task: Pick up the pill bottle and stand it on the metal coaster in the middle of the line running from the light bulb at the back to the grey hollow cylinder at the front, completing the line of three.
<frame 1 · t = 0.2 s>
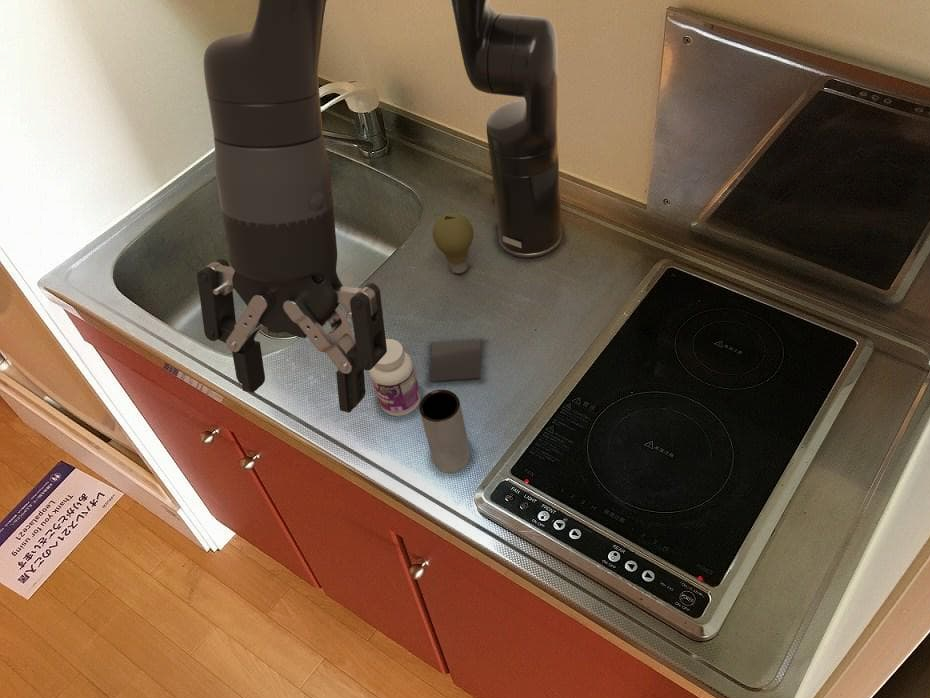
hand: (301, 396, 65), 31 cm above the worktop, tool tilted 20°, fingers open, 8 cm apart
grey hollow cylinder: (452, 458, 98), on the worktop
metal coaster: (455, 362, 107), on the worktop
light bulb: (459, 272, 118), on the worktop
pill bottle: (400, 401, 104), on the worktop
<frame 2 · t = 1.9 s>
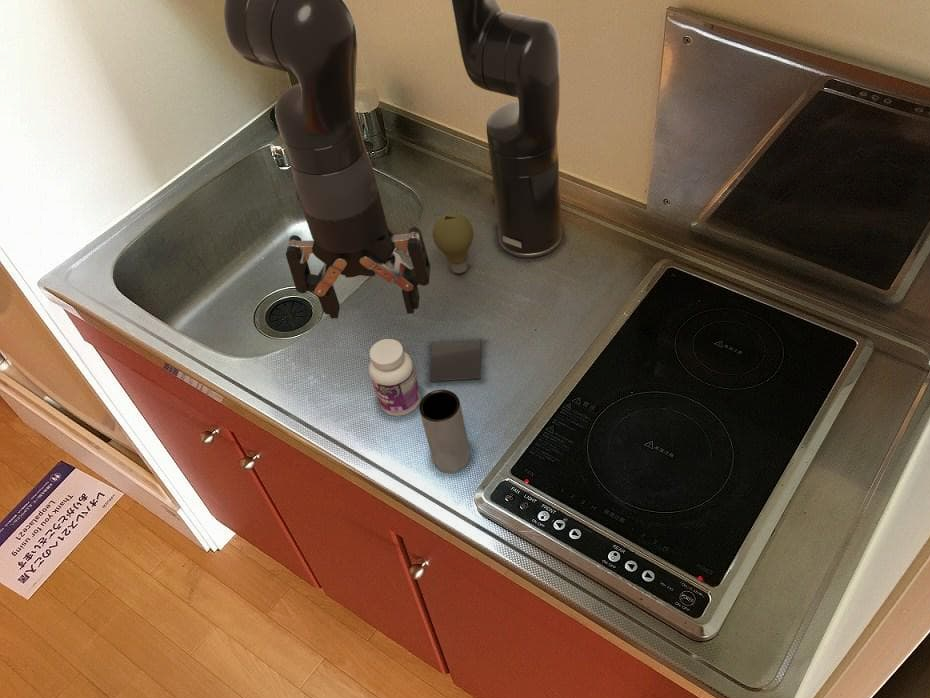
hand: (373, 310, 91), 16 cm above the worktop, tool pointing down, fingers open, 8 cm apart
nothing on the worktop moved.
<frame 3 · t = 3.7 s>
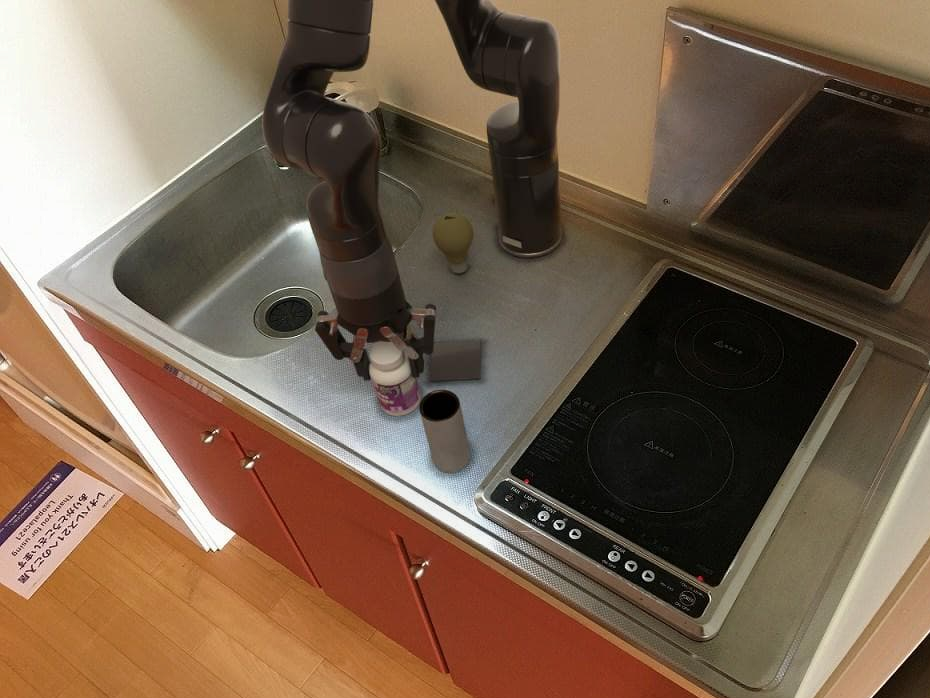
hand: (392, 373, 100), 5 cm above the worktop, tool pointing down, fingers closed on pill bottle, 5 cm apart
pill bottle: (400, 401, 104), on the worktop, touching gripper
everything else where it was.
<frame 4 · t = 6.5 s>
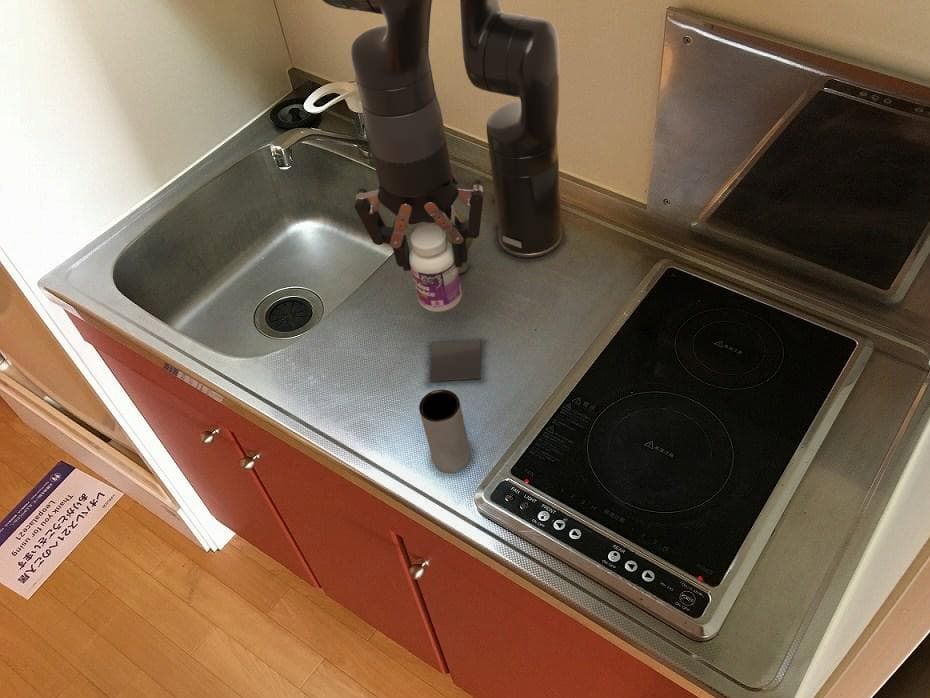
hand: (433, 263, 94), 17 cm above the worktop, tool pointing down, fingers closed on pill bottle, 5 cm apart
pill bottle: (440, 298, 98), point 12 cm above the worktop, touching gripper
everything else where it was.
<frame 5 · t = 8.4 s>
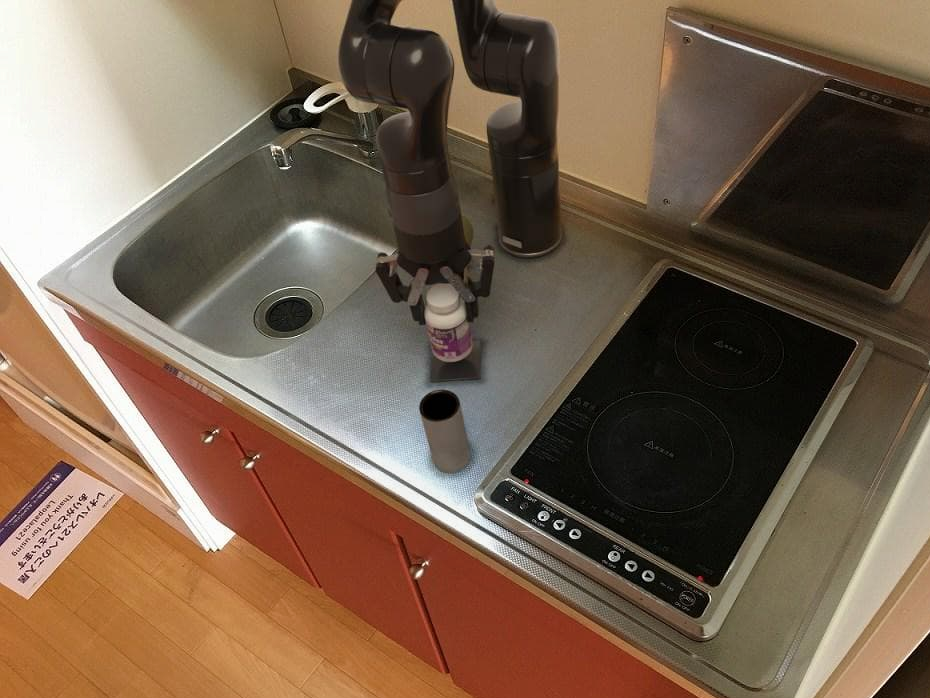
hand: (446, 318, 101), 8 cm above the worktop, tool pointing down, fingers closed on pill bottle, 5 cm apart
pill bottle: (453, 349, 105), point 3 cm above the worktop, touching gripper
everything else where it was.
when the fingers open (6 cm above the worktop, at t = 9.6 s): pill bottle stays where it is, resting on metal coaster.
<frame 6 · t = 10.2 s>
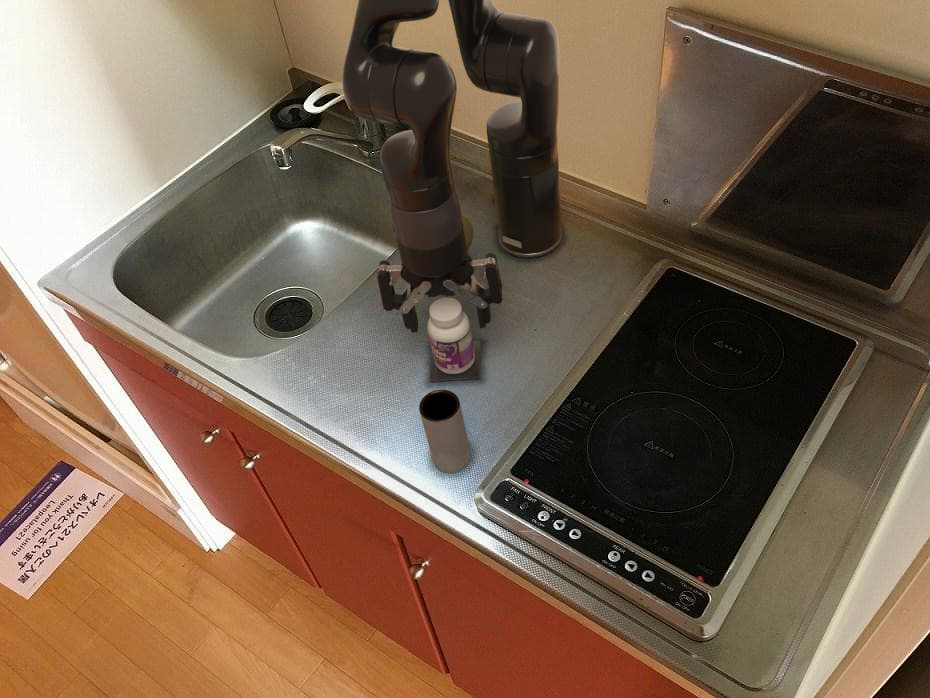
hand: (448, 325, 102), 7 cm above the worktop, tool pointing down, fingers open, 8 cm apart
pill bottle: (455, 361, 107), resting on metal coaster
everything else where it was.
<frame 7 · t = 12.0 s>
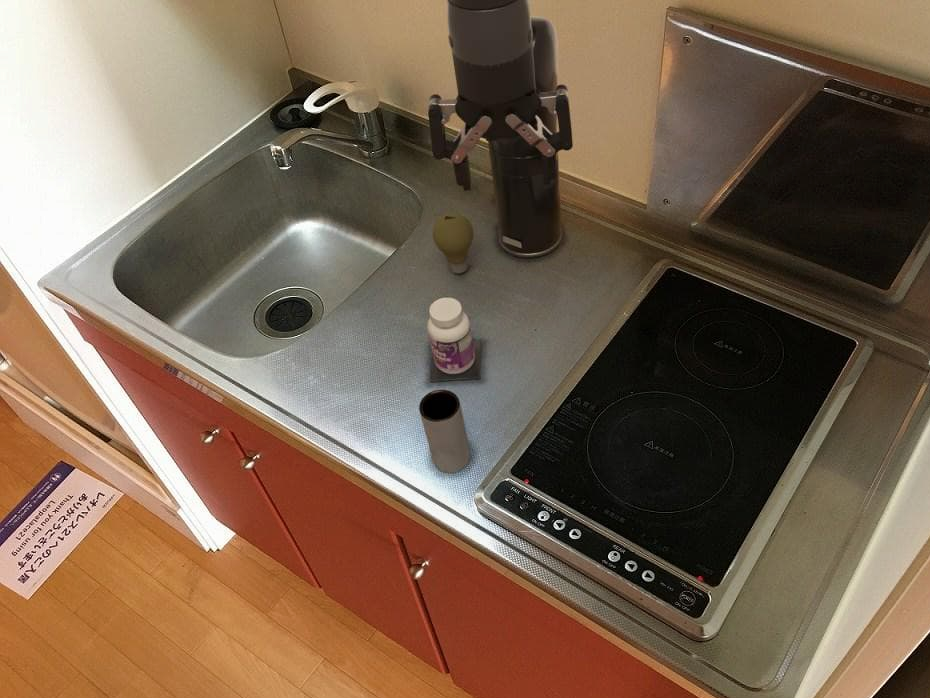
hand: (506, 183, 88), 26 cm above the worktop, tool pointing down, fingers open, 8 cm apart
nothing on the worktop moved.
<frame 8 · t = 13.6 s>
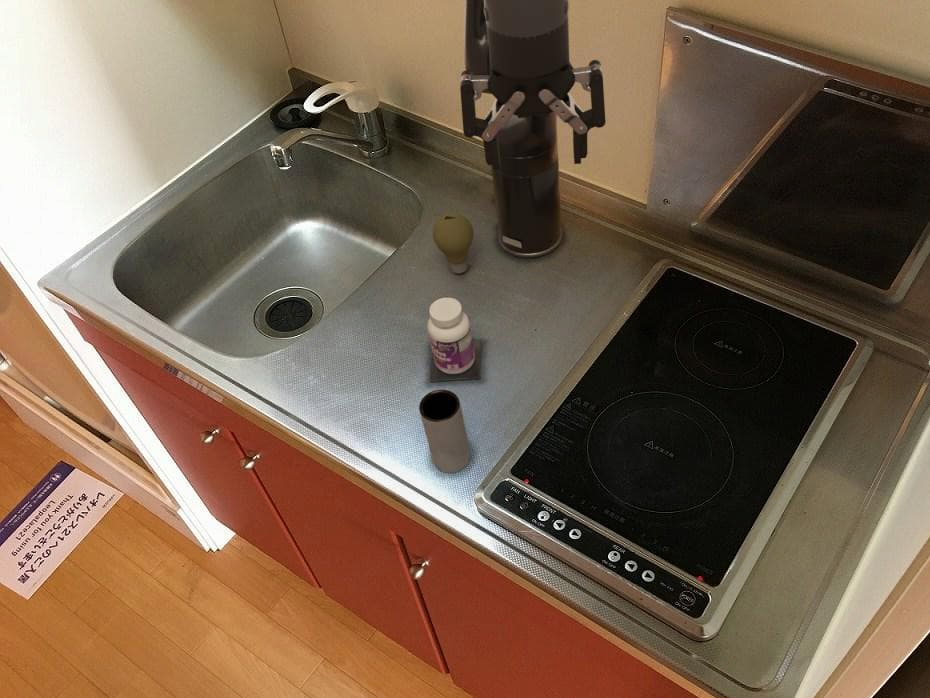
hand: (536, 162, 87), 28 cm above the worktop, tool pointing down, fingers open, 8 cm apart
nothing on the worktop moved.
at the end: pill bottle 0.0 cm off-centre on the metal coaster, point 0.2 cm above the metal coaster's base; pill bottle 17.3 cm from the light bulb (horizontally); pill bottle 15.0 cm from the grey hollow cylinder (horizontally) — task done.
